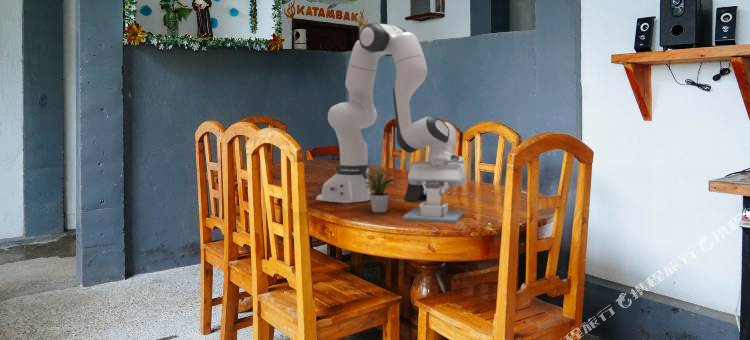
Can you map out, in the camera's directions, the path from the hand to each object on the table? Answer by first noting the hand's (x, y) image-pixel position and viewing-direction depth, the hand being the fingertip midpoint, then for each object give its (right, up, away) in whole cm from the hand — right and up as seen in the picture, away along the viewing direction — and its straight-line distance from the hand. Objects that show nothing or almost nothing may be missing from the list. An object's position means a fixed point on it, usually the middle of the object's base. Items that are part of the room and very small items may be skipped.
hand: (433, 194), depth 193 cm
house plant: (-19, -7, +11) cm, 23 cm away
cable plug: (0, -5, +1) cm, 5 cm away
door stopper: (-3, -4, +33) cm, 33 cm away
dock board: (0, -8, +1) cm, 8 cm away
